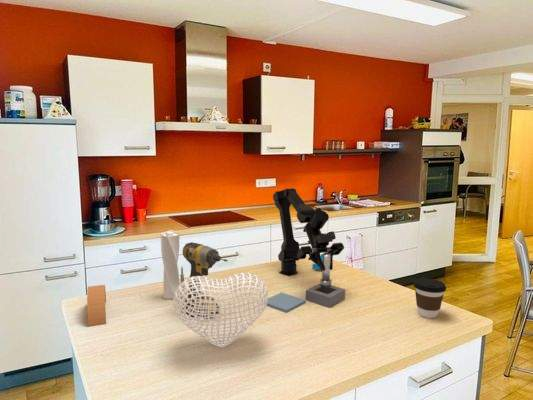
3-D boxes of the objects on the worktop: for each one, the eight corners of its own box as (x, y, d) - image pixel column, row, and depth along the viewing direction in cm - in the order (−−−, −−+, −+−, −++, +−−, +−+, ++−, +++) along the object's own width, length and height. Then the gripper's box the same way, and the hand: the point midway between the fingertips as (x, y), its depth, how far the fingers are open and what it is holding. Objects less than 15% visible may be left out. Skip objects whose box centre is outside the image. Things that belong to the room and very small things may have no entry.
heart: (261, 329, 131) (261, 264, 127) (273, 353, 116) (273, 281, 112) (174, 339, 124) (172, 271, 121) (175, 366, 109) (172, 289, 106)
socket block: (305, 299, 155) (305, 290, 154) (321, 291, 163) (321, 282, 162) (329, 307, 148) (330, 297, 147) (344, 299, 156) (345, 289, 155)
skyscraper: (180, 301, 153) (178, 231, 149) (159, 301, 153) (157, 231, 149) (185, 293, 162) (183, 226, 157) (165, 293, 162) (163, 226, 157)
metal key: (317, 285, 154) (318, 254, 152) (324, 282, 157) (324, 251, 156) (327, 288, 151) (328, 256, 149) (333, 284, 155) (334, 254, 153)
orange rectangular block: (87, 327, 132) (85, 298, 130) (90, 304, 150) (88, 279, 149) (106, 324, 134) (104, 296, 132) (106, 302, 152) (105, 277, 151)
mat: (261, 303, 151) (261, 301, 151) (281, 294, 160) (281, 292, 160) (286, 312, 143) (286, 310, 143) (305, 302, 152) (305, 300, 152)
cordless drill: (216, 327, 132) (215, 254, 128) (176, 311, 144) (174, 244, 140) (234, 317, 139) (233, 248, 135) (195, 303, 151) (193, 239, 147)
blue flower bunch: (309, 262, 196) (324, 249, 195) (317, 270, 198) (332, 257, 196) (313, 272, 186) (329, 258, 184) (321, 280, 187) (337, 266, 186)
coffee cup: (447, 322, 136) (450, 289, 134) (414, 319, 138) (416, 287, 136) (440, 309, 146) (442, 278, 145) (409, 307, 149) (411, 276, 147)
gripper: (300, 226, 151) (314, 262, 143) (342, 222, 158) (357, 257, 149) (291, 241, 159) (303, 276, 151) (331, 237, 166) (345, 270, 158)
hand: (328, 270), depth 152 cm, fingers closed on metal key, 3 cm apart
